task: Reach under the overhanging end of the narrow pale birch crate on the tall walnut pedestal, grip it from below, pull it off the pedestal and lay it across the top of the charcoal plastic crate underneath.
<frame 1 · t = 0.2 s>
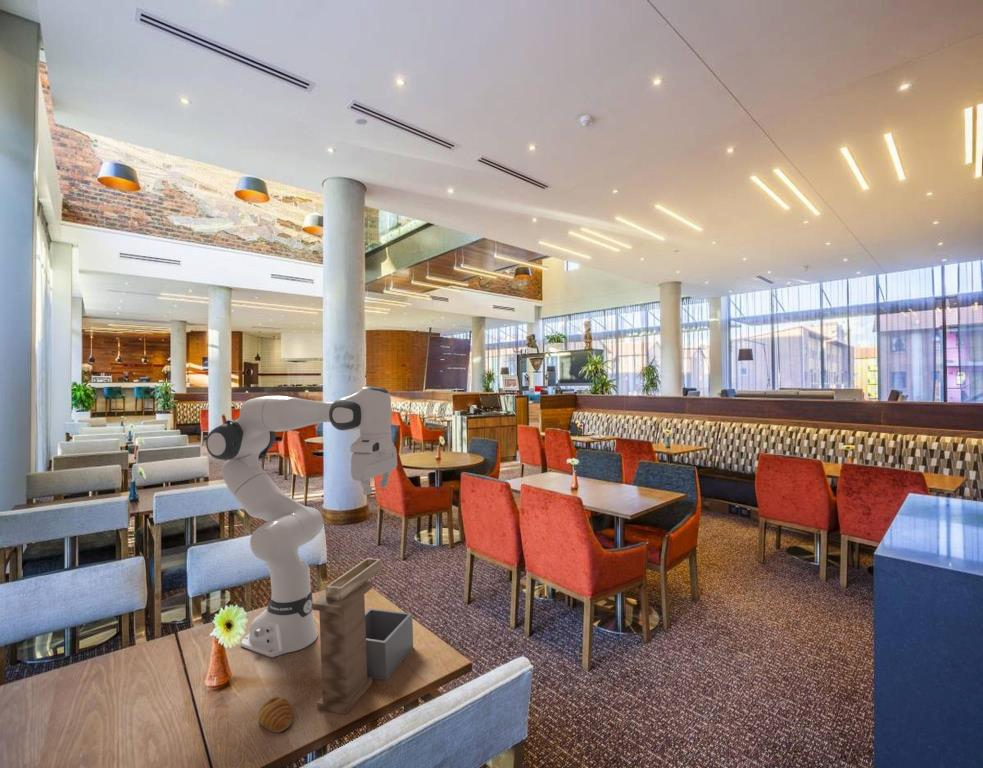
hand: (376, 490, 138), 48 cm above the table, tool pointing down, fingers open, 8 cm apart
birch crate: (355, 583, 127), point 26 cm above the table, touching walnut pedestal
pastry: (277, 721, 114), on the table
charcoal crate: (378, 659, 137), on the table
walnut pedestal: (346, 694, 122), on the table
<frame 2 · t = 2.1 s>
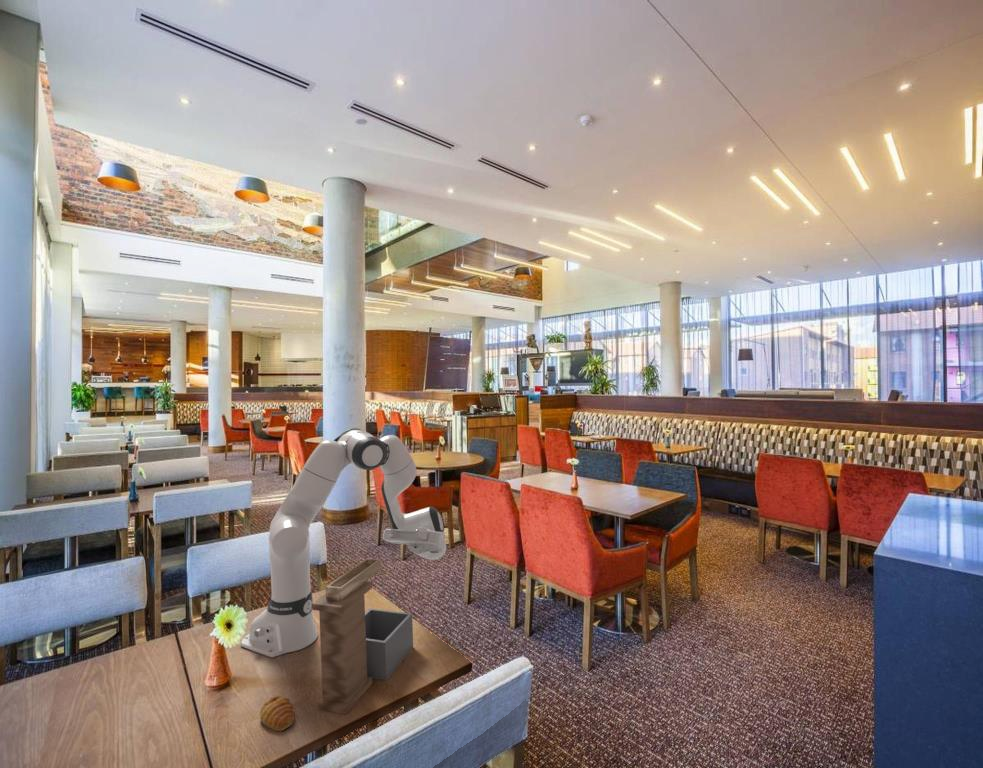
hand: (403, 532, 153), 31 cm above the table, tool pointing upward, fingers open, 8 cm apart
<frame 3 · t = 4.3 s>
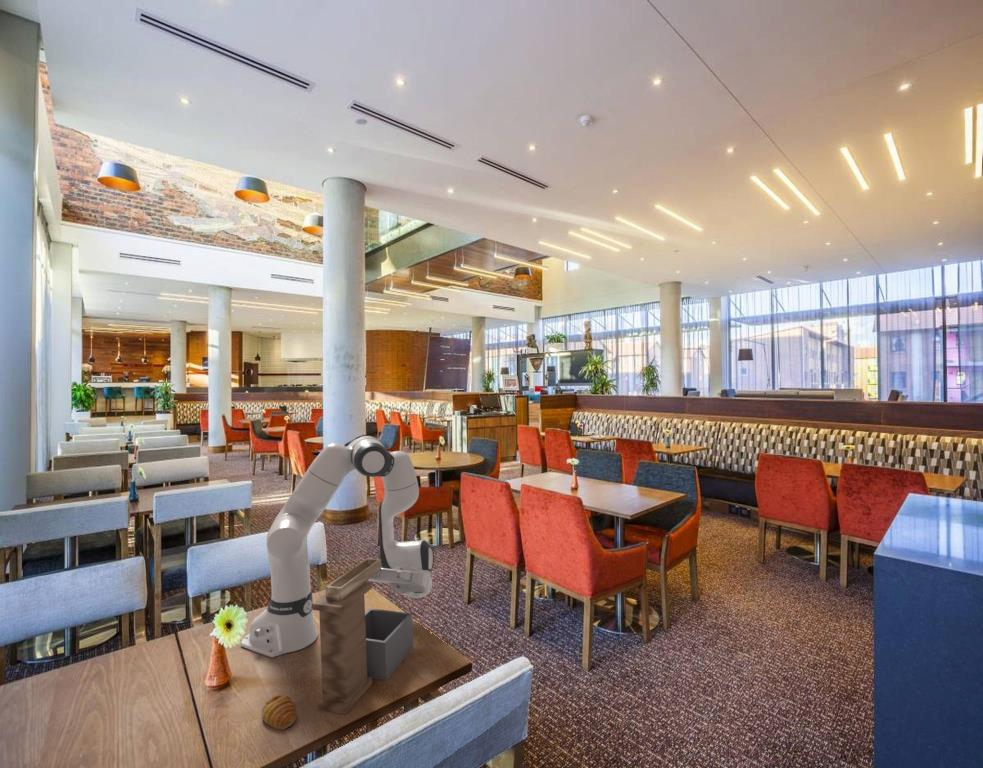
hand: (384, 572, 141), 23 cm above the table, tool pointing upward, fingers open, 8 cm apart
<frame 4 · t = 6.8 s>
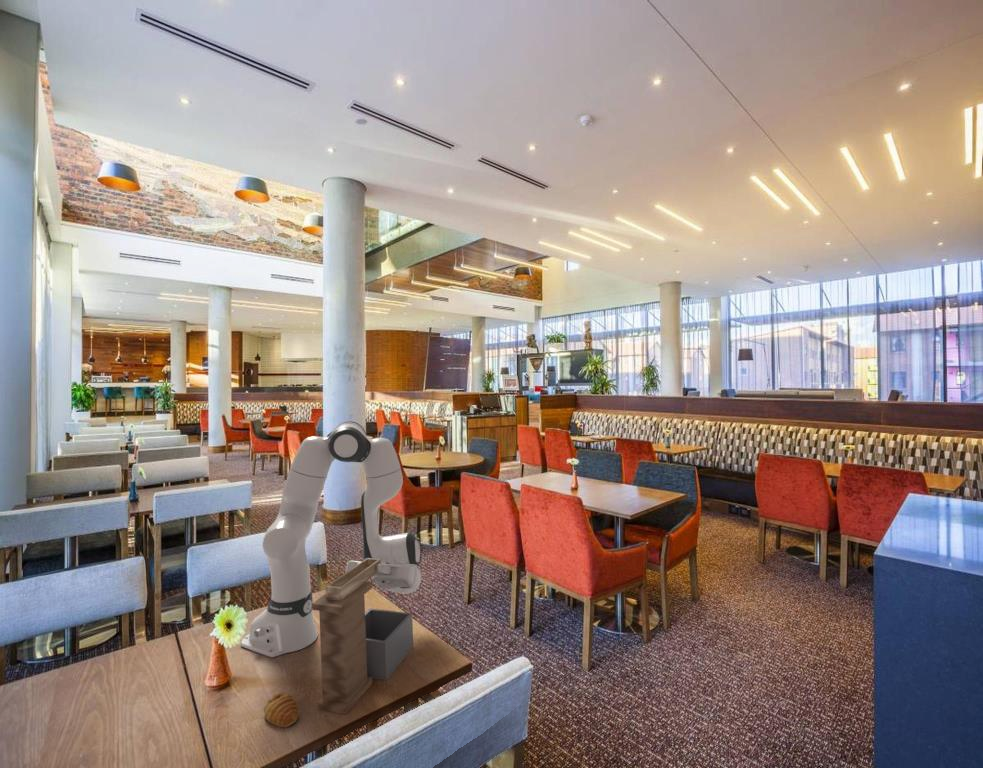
hand: (367, 566, 133), 28 cm above the table, tool pointing upward, fingers closed on birch crate, 4 cm apart
birch crate: (355, 583, 127), point 26 cm above the table, touching gripper, walnut pedestal
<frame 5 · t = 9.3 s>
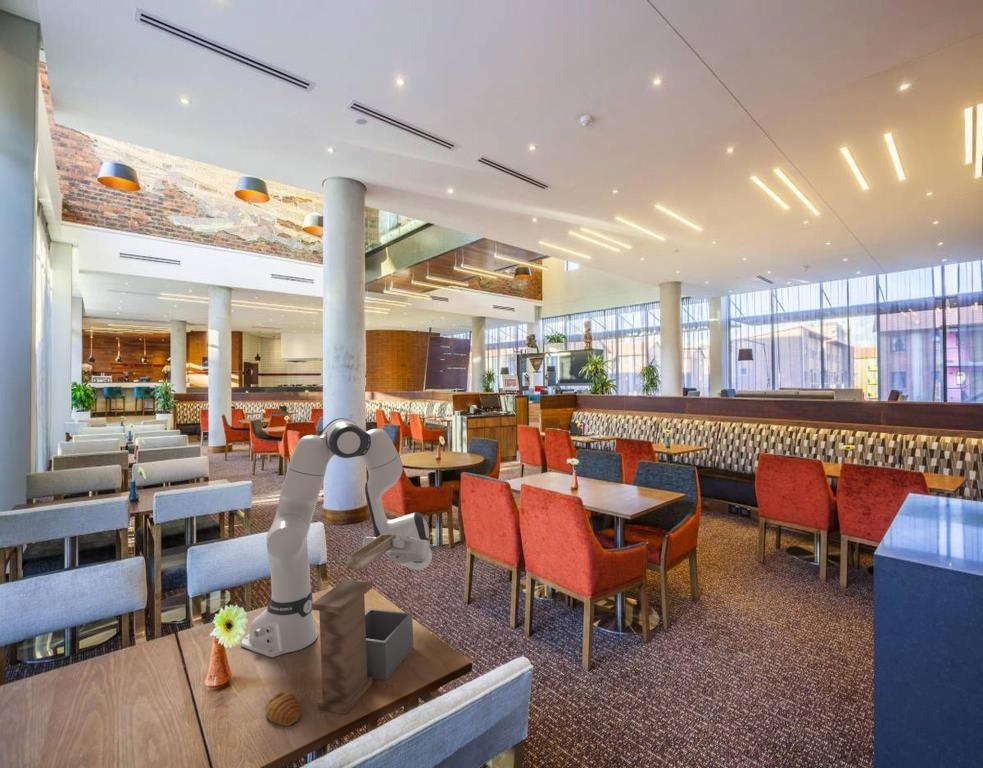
hand: (383, 541, 141), 32 cm above the table, tool pointing upward, fingers closed on birch crate, 4 cm apart
birch crate: (372, 555, 135), point 30 cm above the table, touching gripper
when the fingers open (19 cm above the table, at t = 12.1 s): birch crate drops 10 cm, resting on charcoal crate.
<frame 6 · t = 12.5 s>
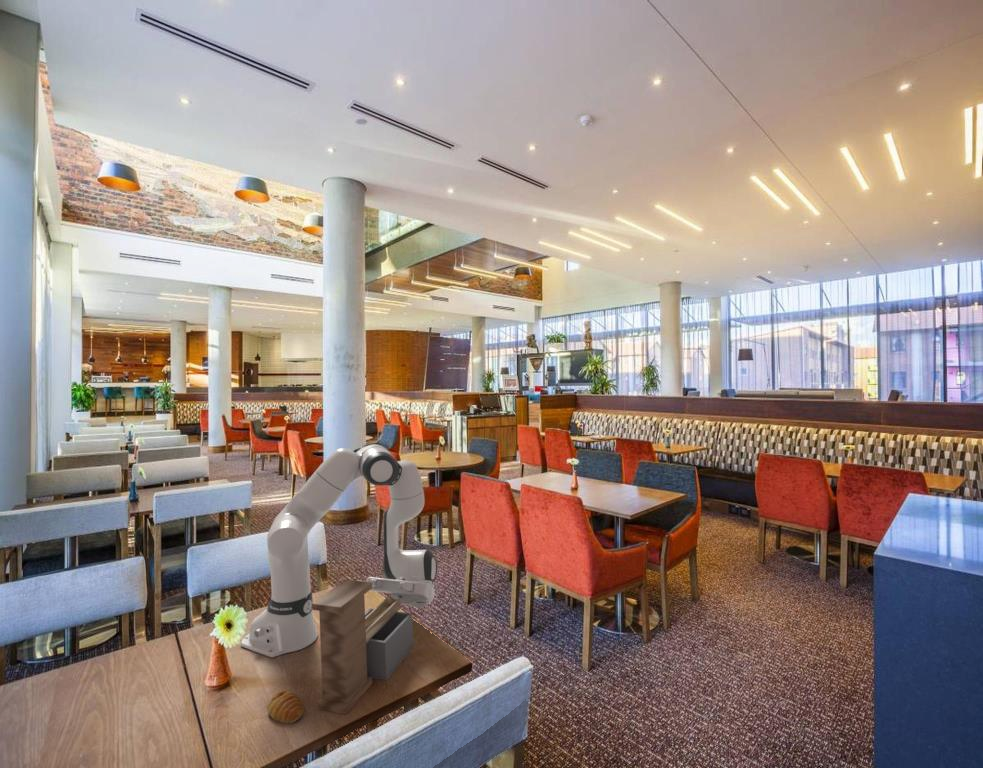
hand: (387, 583, 142), 19 cm above the table, tool pointing upward, fingers open, 8 cm apart
birch crate: (377, 624, 137), point 10 cm above the table, touching charcoal crate
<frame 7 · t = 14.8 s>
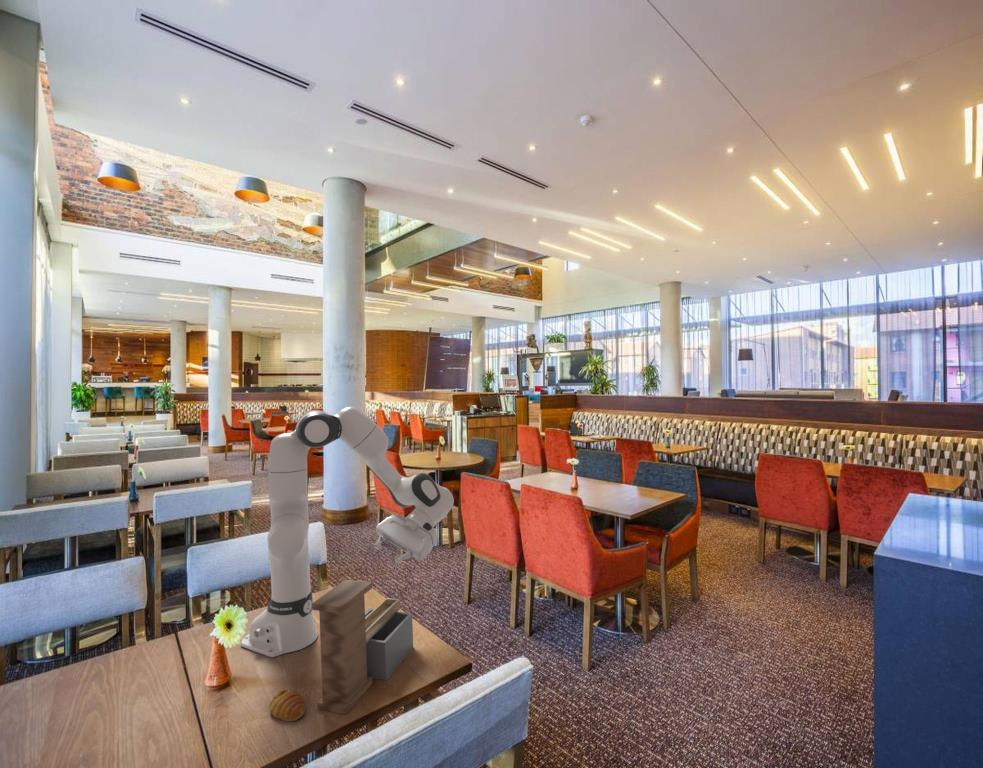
hand: (385, 554, 149), 25 cm above the table, tool tilted 65°, fingers open, 8 cm apart
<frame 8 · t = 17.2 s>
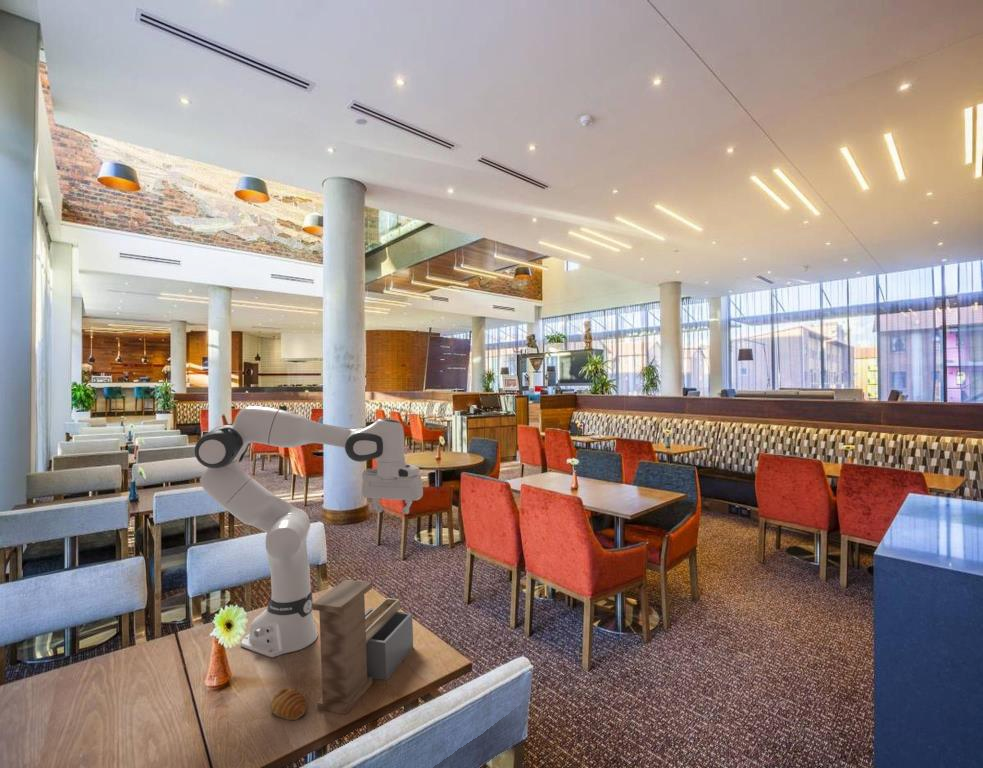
hand: (392, 512, 153), 37 cm above the table, tool pointing down, fingers open, 8 cm apart
at the end: birch crate inside the target area on the charcoal crate (0.1 cm from its centre), point 10.0 cm above the charcoal crate's base; birch crate touching charcoal crate; the gripper is holding nothing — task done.
